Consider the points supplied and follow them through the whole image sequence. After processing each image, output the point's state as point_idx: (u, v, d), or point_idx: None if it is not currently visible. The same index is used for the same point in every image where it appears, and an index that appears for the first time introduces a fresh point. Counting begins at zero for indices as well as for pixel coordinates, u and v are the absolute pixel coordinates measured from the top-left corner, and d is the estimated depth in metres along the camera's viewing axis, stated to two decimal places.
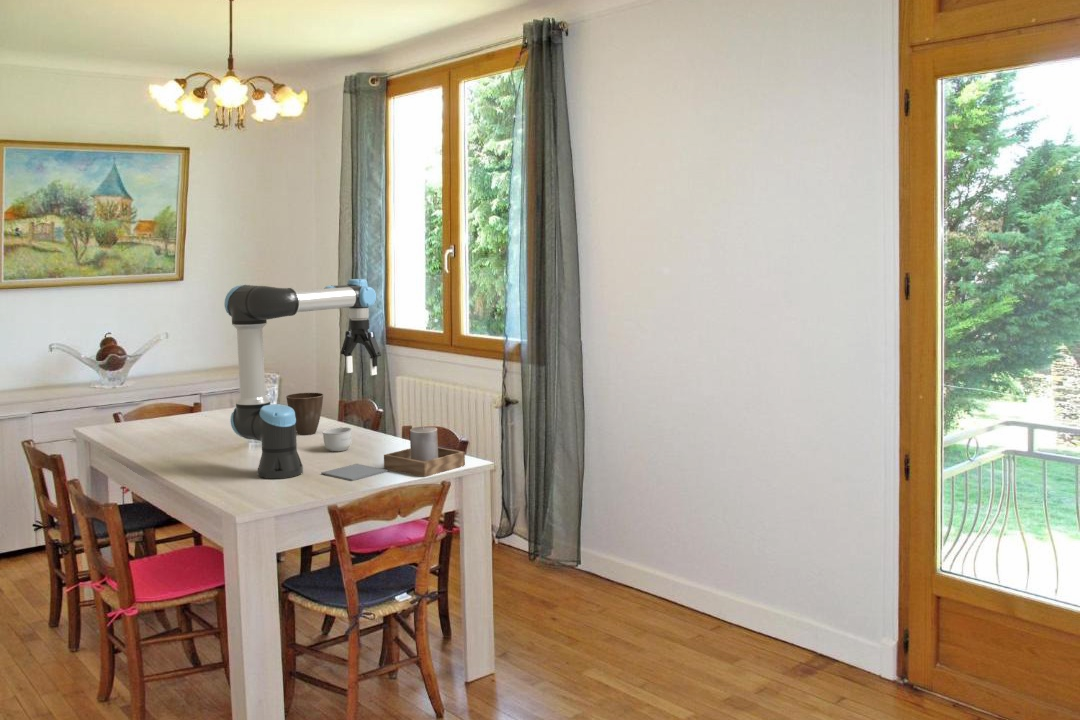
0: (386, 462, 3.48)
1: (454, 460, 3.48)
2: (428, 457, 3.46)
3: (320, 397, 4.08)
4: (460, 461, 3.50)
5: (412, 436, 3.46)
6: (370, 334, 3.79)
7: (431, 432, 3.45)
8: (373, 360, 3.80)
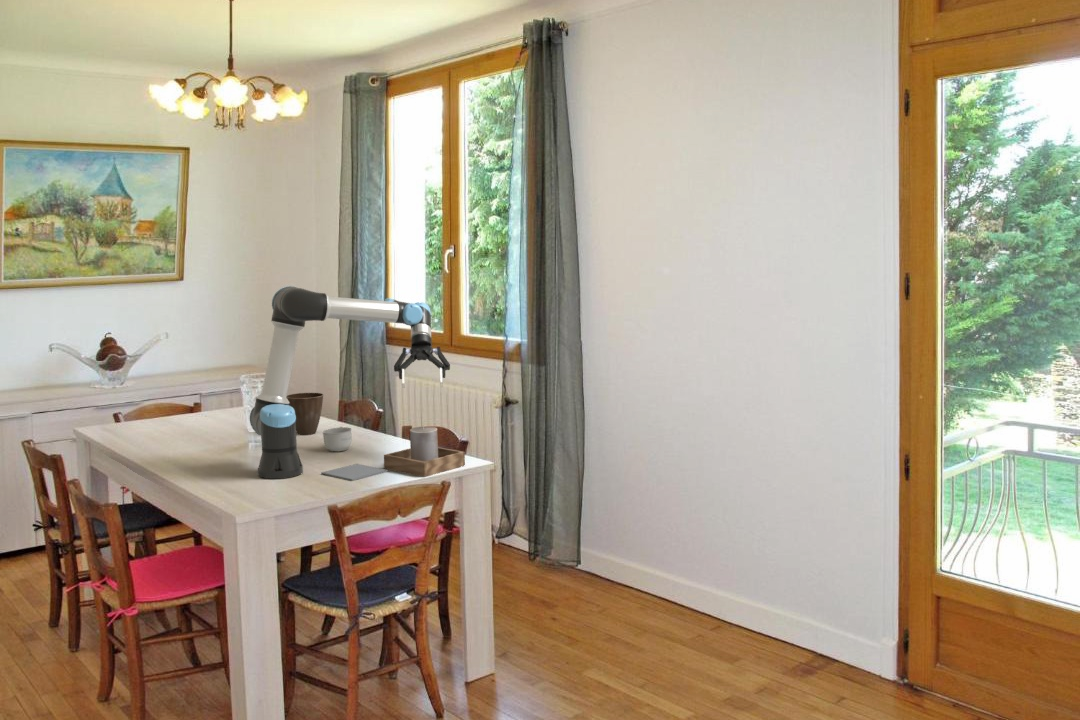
0: (386, 462, 3.48)
1: (454, 460, 3.48)
2: (428, 457, 3.46)
3: (320, 397, 4.08)
4: (460, 461, 3.50)
5: (412, 436, 3.46)
6: None
7: (431, 432, 3.45)
8: (443, 370, 3.61)
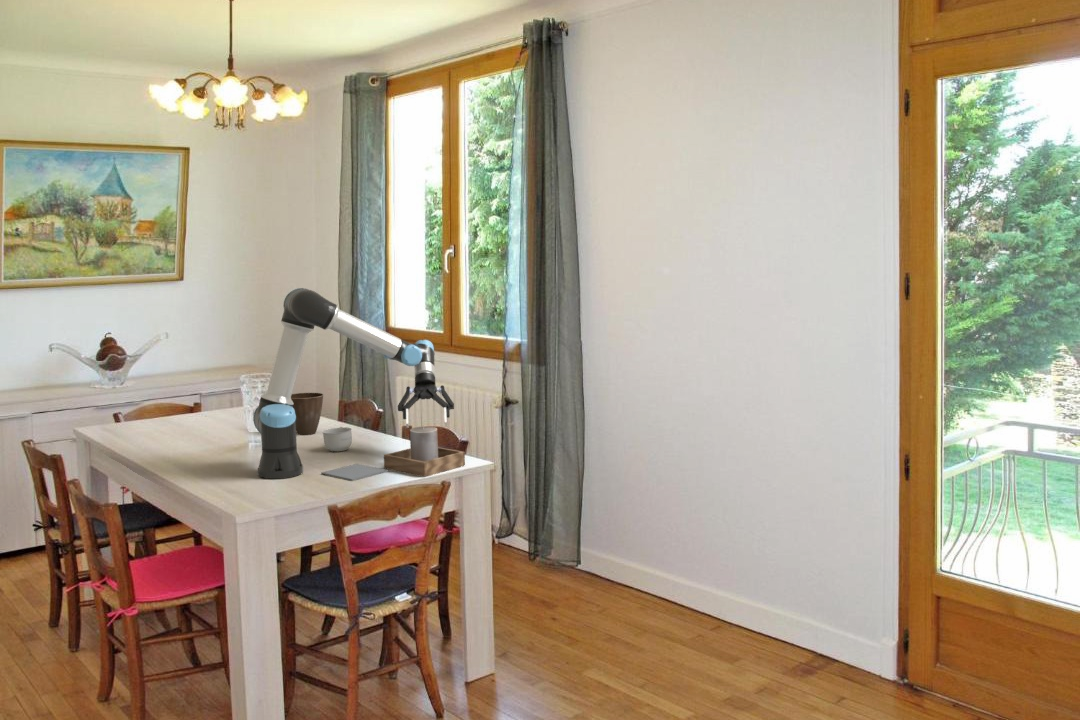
0: (386, 462, 3.48)
1: (454, 460, 3.48)
2: (428, 457, 3.46)
3: (320, 397, 4.08)
4: (460, 461, 3.50)
5: (412, 436, 3.46)
6: None
7: (431, 432, 3.45)
8: (447, 409, 3.59)
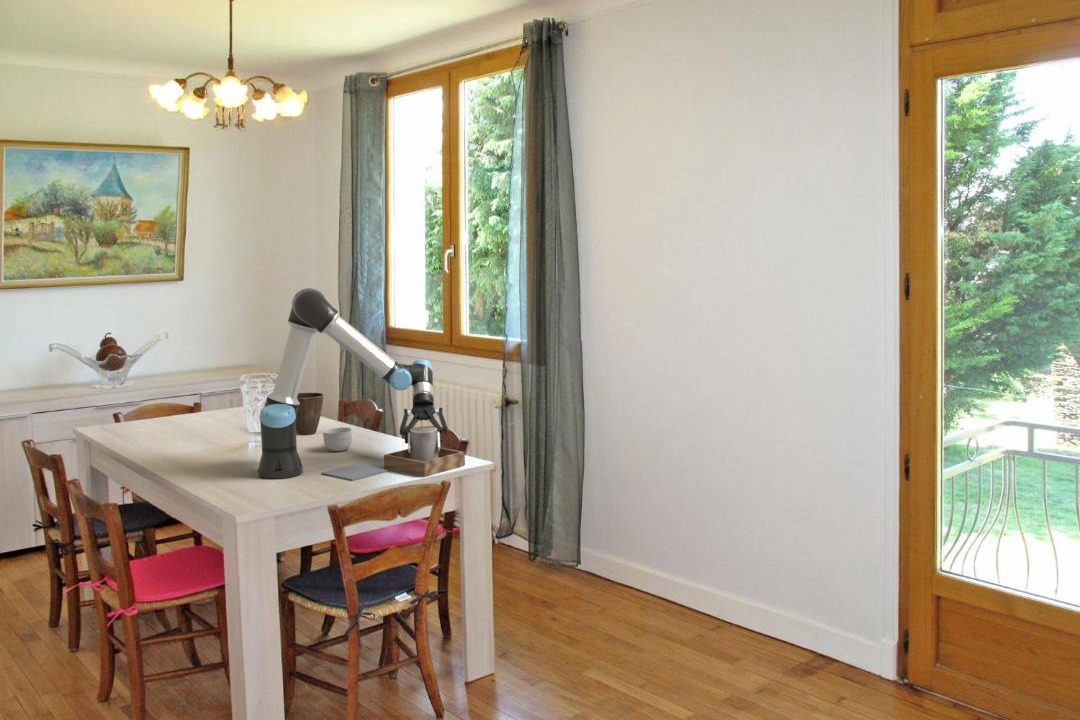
0: (386, 462, 3.48)
1: (454, 460, 3.48)
2: (428, 457, 3.46)
3: (320, 397, 4.08)
4: (460, 461, 3.50)
5: (412, 436, 3.46)
6: None
7: (431, 432, 3.45)
8: (441, 434, 3.50)
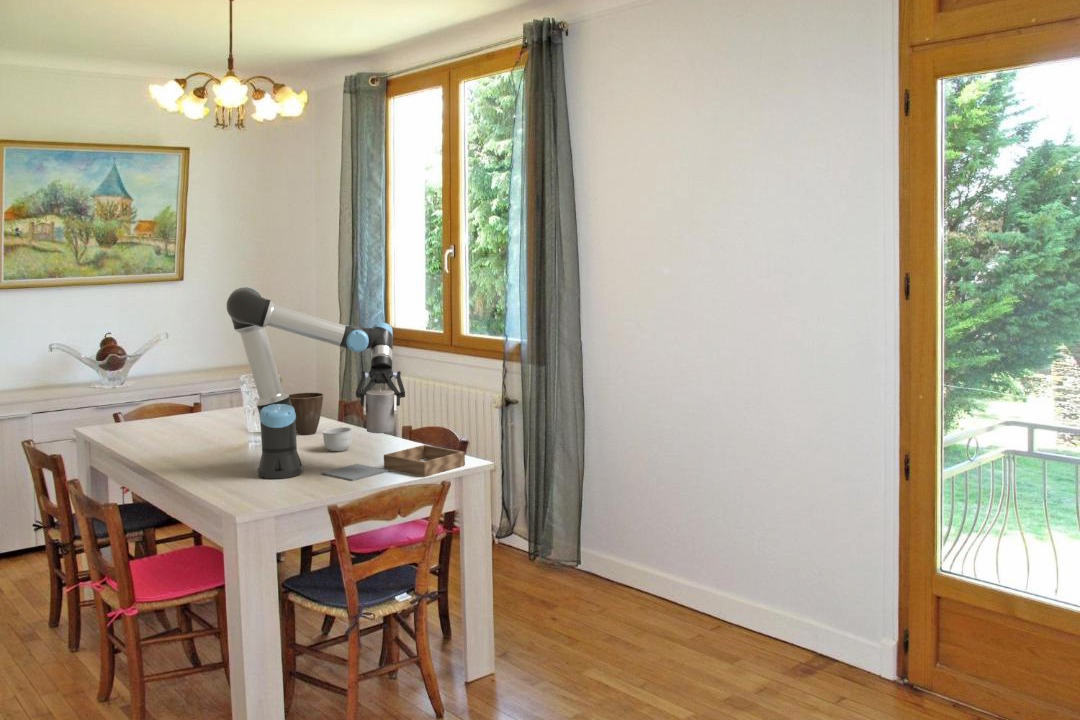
0: (386, 462, 3.48)
1: (454, 460, 3.48)
2: (383, 420, 3.40)
3: (320, 397, 4.08)
4: (460, 461, 3.50)
5: (368, 398, 3.40)
6: (400, 373, 3.50)
7: (387, 394, 3.39)
8: (398, 397, 3.44)
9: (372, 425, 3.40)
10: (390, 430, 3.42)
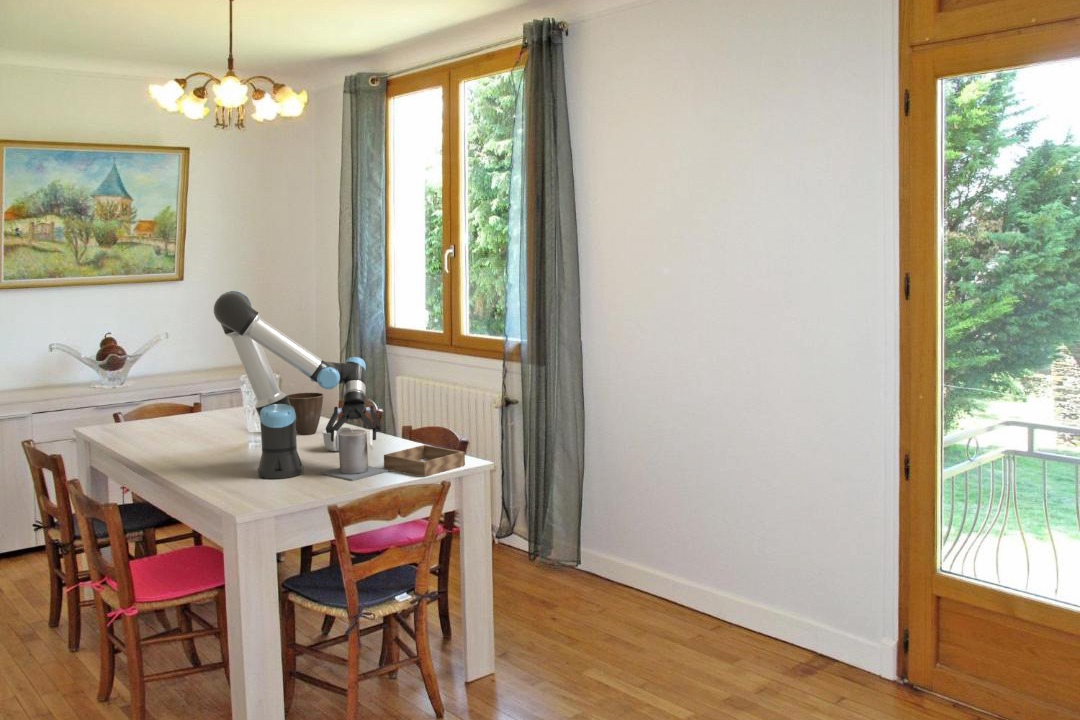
0: (386, 462, 3.48)
1: (454, 460, 3.48)
2: (356, 461, 3.39)
3: (320, 397, 4.08)
4: (460, 461, 3.50)
5: (340, 439, 3.39)
6: (373, 408, 3.49)
7: (359, 435, 3.38)
8: (374, 431, 3.44)
9: (345, 466, 3.39)
10: (363, 470, 3.41)
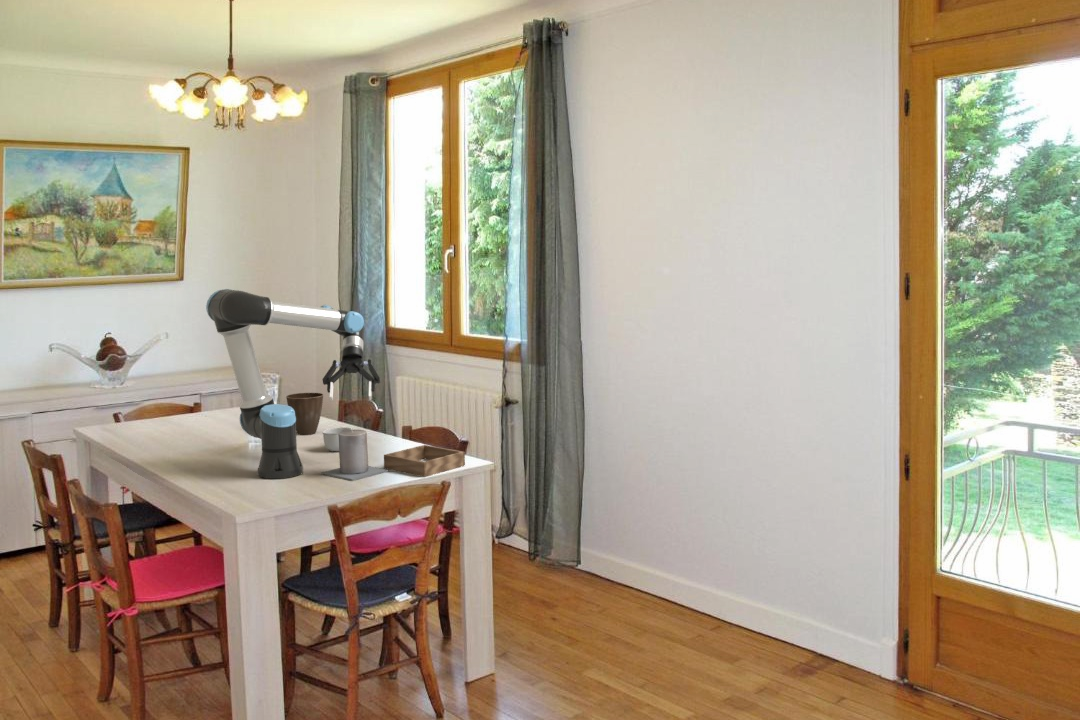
0: (386, 462, 3.48)
1: (454, 460, 3.48)
2: (356, 461, 3.39)
3: (320, 397, 4.08)
4: (460, 461, 3.50)
5: (340, 439, 3.39)
6: (370, 361, 3.62)
7: (359, 435, 3.38)
8: (372, 383, 3.56)
9: (345, 466, 3.39)
10: (363, 470, 3.41)
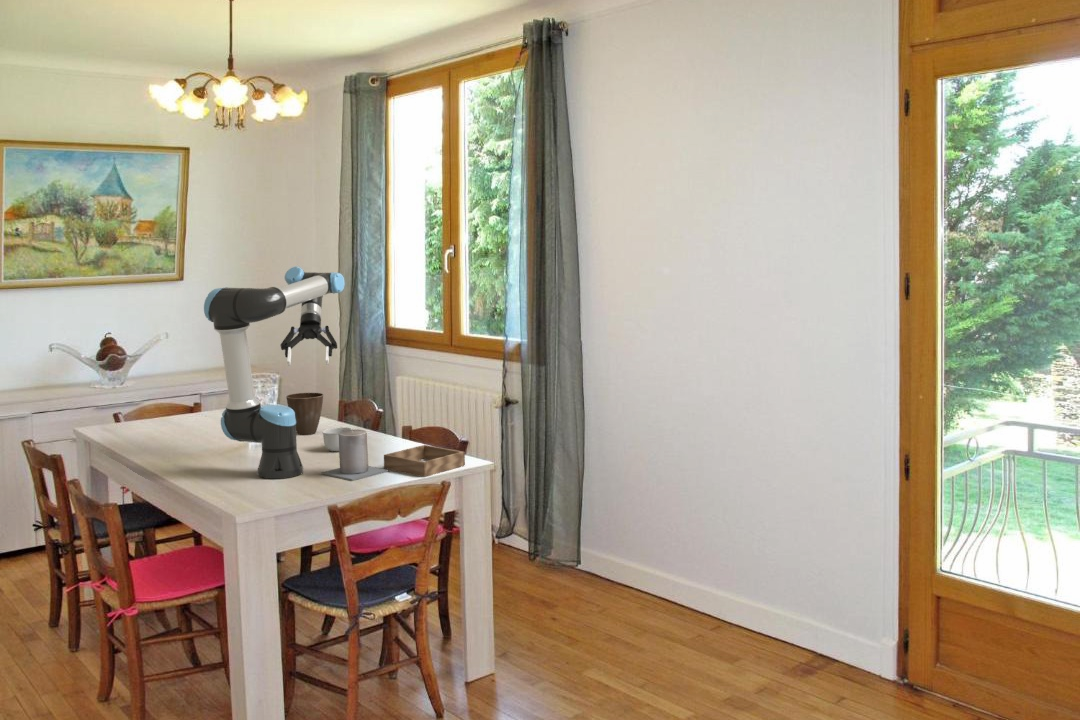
0: (386, 462, 3.48)
1: (454, 460, 3.48)
2: (356, 461, 3.39)
3: (320, 397, 4.08)
4: (460, 461, 3.50)
5: (340, 439, 3.39)
6: (328, 327, 3.69)
7: (360, 435, 3.38)
8: (330, 348, 3.64)
9: (345, 466, 3.39)
10: (363, 470, 3.41)
